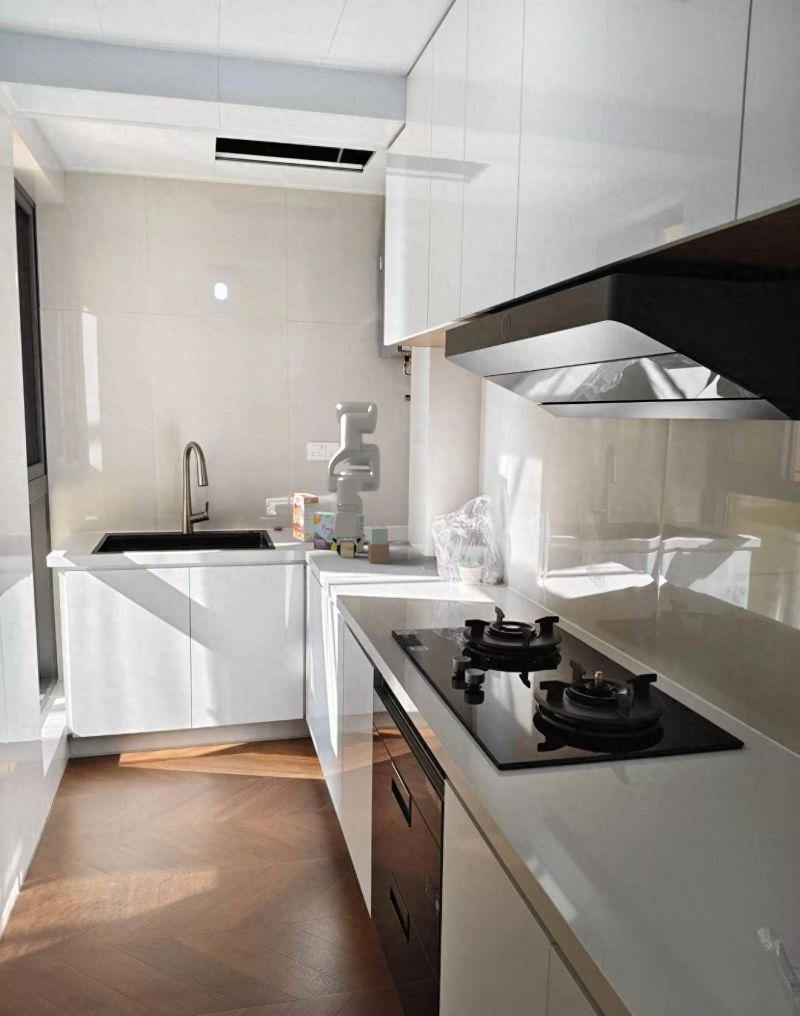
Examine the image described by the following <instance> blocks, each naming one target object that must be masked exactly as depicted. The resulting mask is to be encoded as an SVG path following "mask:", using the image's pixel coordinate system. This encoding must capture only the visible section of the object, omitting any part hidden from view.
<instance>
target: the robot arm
mask: <svg viewBox="0 0 800 1016" xmlns="http://www.w3.org/2000/svg"><path fill="white" fill-rule="evenodd" d="M378 412H379V411H378V406H377V404H376V403H375V402H372V401H340V402H338V403H336V406H335V415H336V418H337V419H336V420H337V422H338V424H339V432H338V433H339V436H338V437H339V439H338V450H337V451H336V452H335V453H334V454H333V455H332V457H331V458H330V459H329V462H328V463H327V467H326V484H325V485H326V489H327V491H328V492H329V493H331V494H336V511H335V512H334V513H335V515H334V526H333V530H332V531H331V532H330V533H329V535H328V537H329V538H330V539H331V540H333V541H334V542H335V543H336V544H337V551H336V553H337V554H338V556H340V555H341V545H340V540H341V538H353V542H354V556H355V555H356V554H357V553H356V552H357V544H358V543H359V542H360V541H361V540H362V539H363V538H364V543H365V544H366V543H367V539H365V537H366V534H365V532H364V533H363V532H362V530H361V529H360V522H359V515H363V516H364V502H363V499H362V497H361V496H360V495H359V494H358V493H360V492H365V493H366V492H367V493H369V492H370V493H371V492H372V493H373V492H374V493H375V492H377V491H379V489H380V486H381V453H380V447H379V446H378V445H377V444H375V443H367V442H366V443H364V442H363V434H364V435H366V434H367V435H368V434H369V435H371V434H374V433H375V431H376V429H377V423H378V422H377V420H378ZM341 462H343V464H344V465H346V466H349V467H350V466H353V467H355V466H356V467H357V466H358V467H368V468H369V469H368V468H367V469H366V468H364V469H362V468H361V469H360V468H345V469H343V470H341V471H340V472H339V473H335V469H336V466H337V465H338V464H339V463H341ZM333 534H334V536H335V537H337V540H336V539H335V538H334V537H333V536H332V535H333ZM360 534H361V536H360V537H358V536H359V535H360ZM356 537H358V538H357V539H356Z"/></svg>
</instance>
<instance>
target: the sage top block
mask: <svg viewBox="0 0 800 1016" xmlns="http://www.w3.org/2000/svg"><path fill="white" fill-rule="evenodd" d="M388 530H389V529H388V528H387V527H386V526H369V542H370V543H371V545H388V544H389V543H388V542H389V540H388V539H389V537H388V533H389V532H388Z"/></svg>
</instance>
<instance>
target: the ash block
mask: <svg viewBox="0 0 800 1016" xmlns="http://www.w3.org/2000/svg"><path fill="white" fill-rule="evenodd" d="M340 545H341V555H339V557H340V558H344V557H351V558H354V557H355V555H354V542H353V540H340ZM344 559H345V558H344Z"/></svg>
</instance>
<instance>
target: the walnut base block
mask: <svg viewBox="0 0 800 1016" xmlns="http://www.w3.org/2000/svg"><path fill="white" fill-rule="evenodd" d="M367 546H368V549H367V552H368V553H367V560H369V561H370V562H369V561H368V562H369V564H370V563H378V564H390V544H389V543H388V545H371V543H370V541H368V543H367Z"/></svg>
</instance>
